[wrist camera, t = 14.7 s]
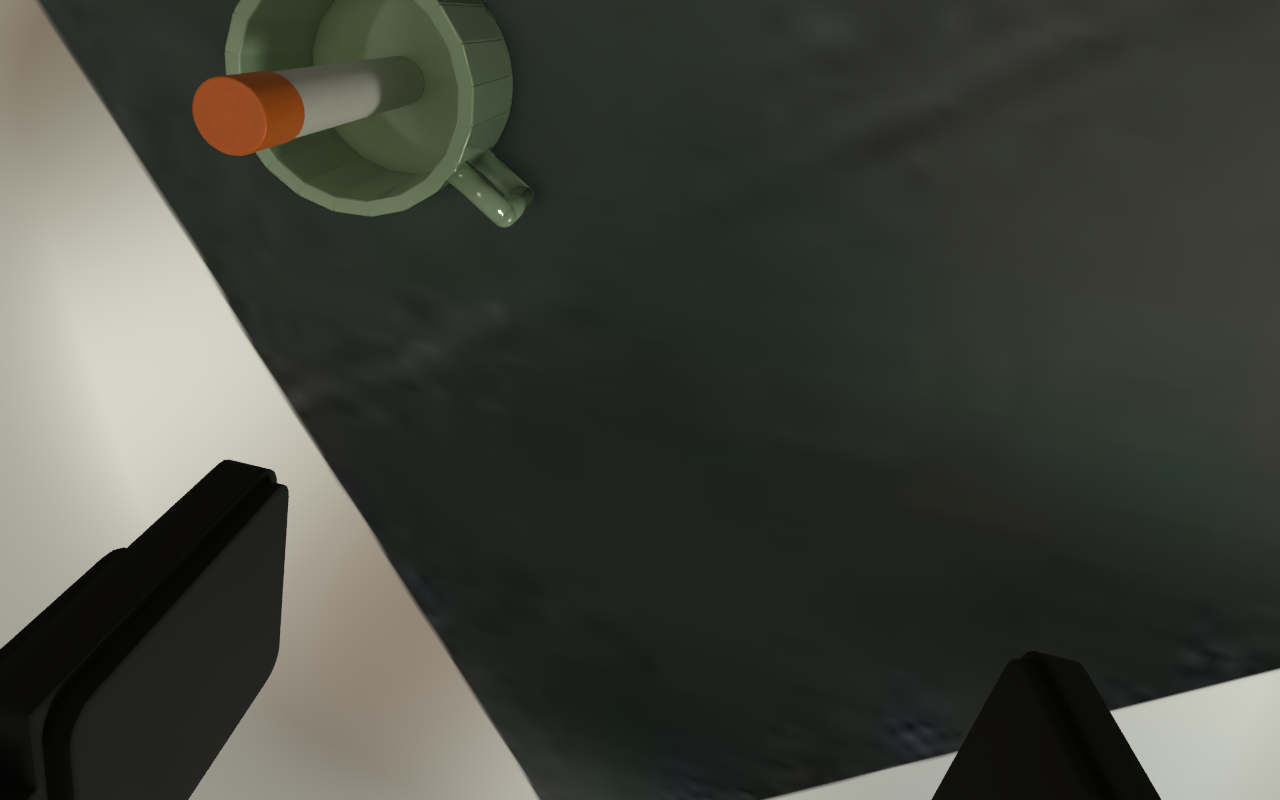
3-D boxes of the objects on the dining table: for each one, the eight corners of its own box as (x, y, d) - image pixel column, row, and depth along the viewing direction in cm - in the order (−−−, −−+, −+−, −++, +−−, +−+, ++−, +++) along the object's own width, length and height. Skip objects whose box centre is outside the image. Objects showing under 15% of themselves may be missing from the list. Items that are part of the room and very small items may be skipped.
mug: (268, 81, 37) (178, 94, 31) (387, -93, 34) (315, -118, 28) (477, 265, 40) (434, 312, 34) (604, 121, 37) (584, 143, 31)
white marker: (380, 49, 36) (191, 67, 22) (428, 61, 36) (268, 86, 23) (375, 99, 37) (191, 145, 23) (422, 111, 37) (265, 164, 23)
